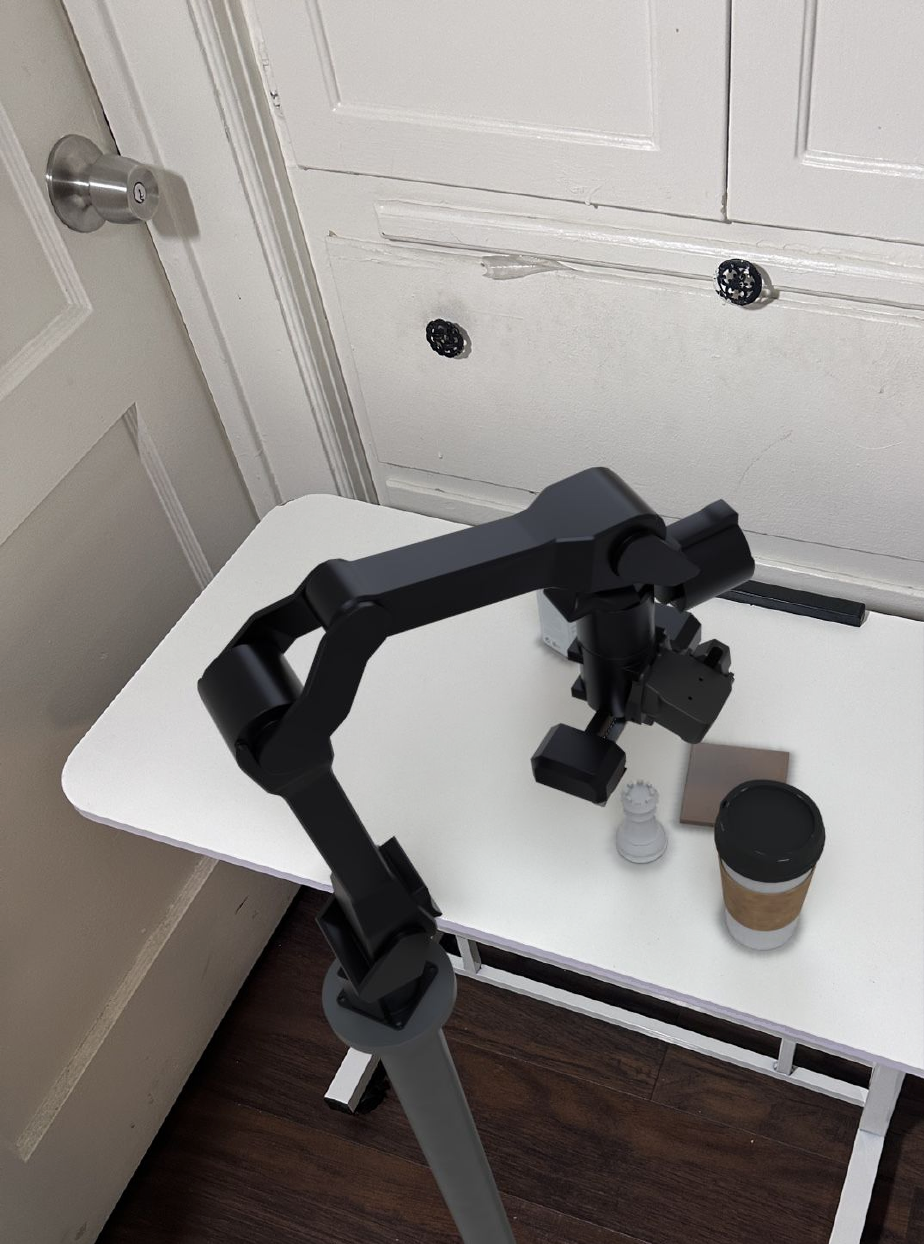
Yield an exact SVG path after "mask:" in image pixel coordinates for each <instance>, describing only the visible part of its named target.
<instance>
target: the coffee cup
mask: <svg viewBox="0 0 924 1244" xmlns="http://www.w3.org/2000/svg"><path fill="white" fill-rule="evenodd" d="M713 829H714V831H713V832H714V833H713V835H714V837H713V838H714V839H713V840H714V844H715V848H716V849H715V850H716V851H717V856H718V857H717V858H718V866H719V873H720V880H721V881H720V883H721V889H722V897H723V902H724V912H725V913H724V914H725V922H726V927H727V929H728V931H729V933H730V935H731V936H732V938H733V939H735V940H736V941H737V942H738V943H739V944H740V945H743V946H744V947H746V948H749V949H751V950H757V951H769V950H773V949H777V948H780V947H781V946H783V945H784V944H786V943H787V942H788V941H789V940H790V939H791V938H792V936H793V935H794V932H795V930H796V929H797V925H798V922H799V918H800V916H801V915H800V914H801V911H802V909H803V906H804V903H805V900H806V897H807V894H808V891H809V890H810V889H809V888H810V885H811V882H812V880H813V876H814V873H815V871H816V868H817V863H818V862H819V861H820V859H821V857H822V855H823V852H824V848H825V844H826V838H827V835H826V827H825V824H824V821H823V816H822V812H821V810H820V808H819V807H818V805H817V803H816V802H815V801H814V799H812V798H811V797H810V796H809V795H808V794H807V793H805V792H804V791H803V790H801V789H799V788H797V787H796V786H793V785H792V784H789V783H787V782H786V783H783V782H779V781H775V780H766V779H760V780H751V781H746V782H744V783H742V784H739V785H738V786H736V787H735V788H733V789H732V790H731V791H730V792H729V793H728V794H727V795H726V796H725V797H724V799H723V800H722V801H721V803H720V808H719V813H718V815H717V817H716V821H715V825H714V827H713Z"/></svg>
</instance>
